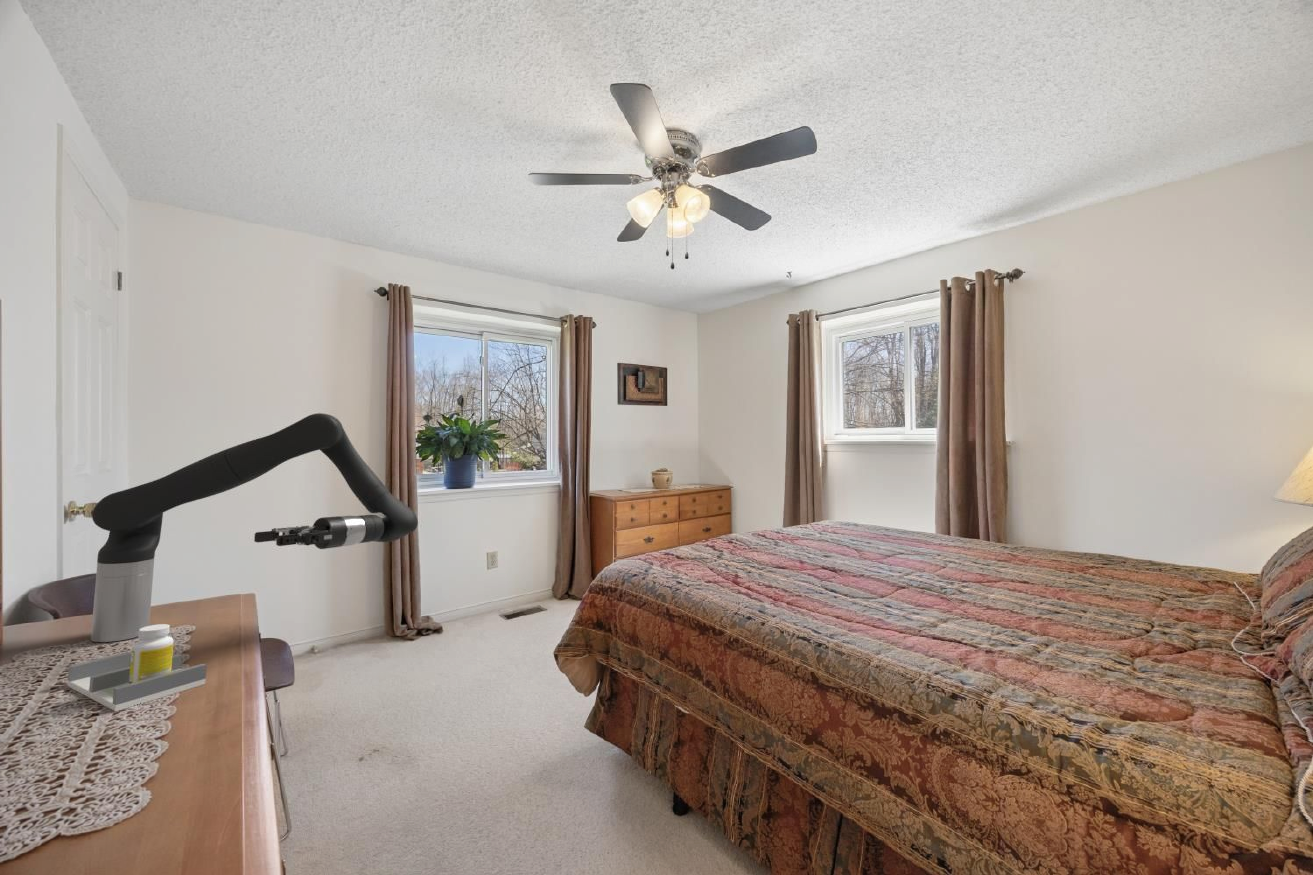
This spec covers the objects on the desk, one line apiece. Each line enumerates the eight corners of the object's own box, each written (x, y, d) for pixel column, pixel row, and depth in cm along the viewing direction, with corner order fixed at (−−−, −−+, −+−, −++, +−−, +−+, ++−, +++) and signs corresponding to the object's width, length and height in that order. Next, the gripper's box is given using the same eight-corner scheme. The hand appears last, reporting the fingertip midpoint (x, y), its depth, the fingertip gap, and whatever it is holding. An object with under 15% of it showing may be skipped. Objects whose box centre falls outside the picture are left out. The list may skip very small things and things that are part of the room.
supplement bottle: (179, 677, 94) (183, 623, 95) (147, 690, 89) (151, 633, 89) (152, 675, 95) (156, 621, 95) (119, 688, 89) (123, 631, 90)
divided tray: (67, 685, 92) (68, 665, 92) (154, 663, 103) (156, 645, 103) (115, 711, 84) (117, 689, 84) (205, 683, 95) (206, 664, 95)
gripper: (322, 514, 130) (249, 519, 116) (358, 518, 124) (286, 524, 109) (320, 544, 130) (246, 553, 115) (357, 549, 124) (284, 560, 109)
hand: (266, 539), depth 112 cm, fingers open, 8 cm apart
